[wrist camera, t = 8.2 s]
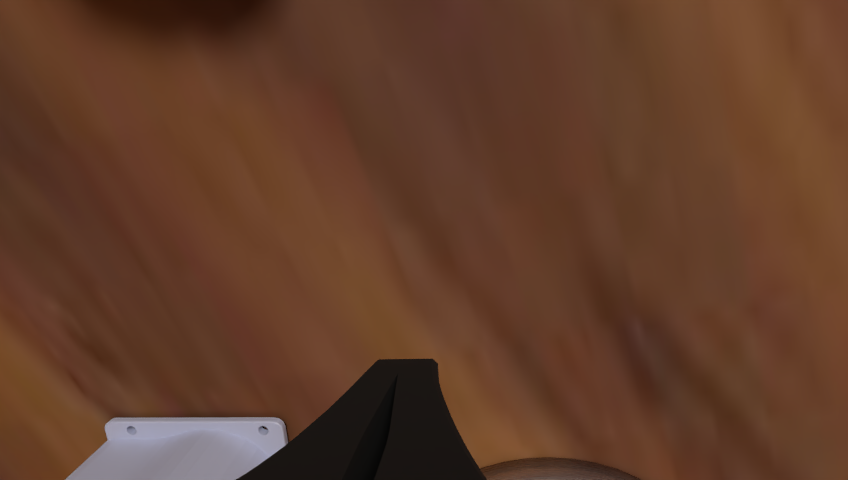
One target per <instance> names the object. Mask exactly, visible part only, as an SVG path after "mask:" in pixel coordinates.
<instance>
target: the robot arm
mask: <svg viewBox="0 0 848 480" xmlns="http://www.w3.org/2000/svg"><path fill="white" fill-rule="evenodd" d="M262 426H265V427H266V428H268V430H266V429H264V428H263V427H262ZM133 427H134V428H133ZM105 431H106V435H107V438H108V440H107V441H106V442H105V443H104V444H103V445H102V446H101V447H100V448H99V449H98V450H97V451H95V452H94V453H93V454H92V455H91V456H90V457H89V458H88V459H87V460H86V461H85V462H84V463H82V464H81V465H80V466H79V467H78V468H77V469H76V470H75V471H74V472H73V473H72V474H71V475H69V476H68V477H67V478H66V479H65V480H487V479H486V478H485V476H484V475H483V473H482V472H481V470H480V469H479V467H478V465H477V464H476V462H475V461H474V459H473V457H472V456H471V454H470V452H469V451H468V449H467V447H466V445H465V444H464V442H463V440H462V438H461V436H460V434H459V432H458V430H457V428H456V426H455V424H454V422H453V420H452V417H451V415H450V413H449V410H448V408H447V405H446V403H445V400H444V397H443V395H442V392H441V388H440V384H439V377H438V363H436V362H435V361H434V360H433V359H385V360H378V361H376V362H375V363H374V364H373V365H372V366H371V367H370V368H369V369H368V370H367V371H366V372H365V373H364V374H363V375H362V376H361V377H360V378H359V379H358V381H357V382H356V383H355V384H354V385H353V386H352V387H351V388H350V389H349V390H348V391H347V392H346V393H345V394H344V395H343V396H342V397H340V398H339V399H338V400H337V401H336V402H335V403H334V404H333V405H332V406H331V407H330V408H329V409H328V410H327V411H326V412H324V413H323V414H322V415H321V416H320V417H319V418H318V419H316V420H315V421H314V422H313V423H312V424H311V425H310V426H308V427H307V428H306V429H305V430H304V431H303V432H301V433H300V434H299V435H298V436H297V437H295V438H294V439H293V440H292V441H290V442H289V443H288V438H287V432H286V426H285V424H284V422H283V421H282V420H281V419H279V418H275V417H231V418H113V419H111V420H110V421H109V422H108V423H107V424H106V425H105Z"/></svg>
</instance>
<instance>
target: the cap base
mask: <svg viewBox="0 0 848 480" xmlns="http://www.w3.org/2000/svg"><path fill="white" fill-rule="evenodd" d="M480 470H481V472H482V473H483V475H484V476H485V478H486V479H487V480H641V479H639V478H637V477H635V476H632V475H630V474H628V473H625V472H623V471H620V470H618V469H615V468H611V467H608V466H604V465H601V464H597V463H593V462H587V461H581V460H576V459H565V458H528V459H520V460H514V461H507V462H502V463H499V464H495V465H491V466H488V467H484V468H481V469H480Z"/></svg>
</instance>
